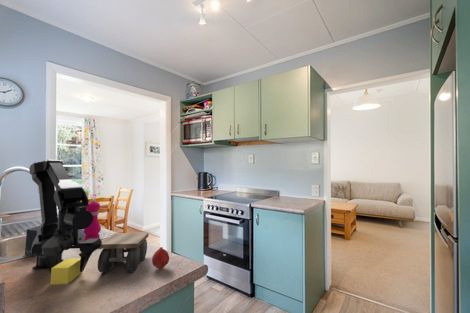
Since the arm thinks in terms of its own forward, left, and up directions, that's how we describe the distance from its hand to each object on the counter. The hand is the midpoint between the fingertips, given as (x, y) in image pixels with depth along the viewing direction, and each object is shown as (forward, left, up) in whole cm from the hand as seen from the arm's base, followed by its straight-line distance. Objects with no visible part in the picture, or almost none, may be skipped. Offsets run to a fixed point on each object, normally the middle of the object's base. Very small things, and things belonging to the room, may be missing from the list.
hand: (67, 272), depth 71 cm
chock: (0, 0, -2) cm, 2 cm away
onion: (+29, +4, -2) cm, 29 cm away
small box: (-25, +24, -2) cm, 35 cm away
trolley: (+15, +8, -2) cm, 17 cm away
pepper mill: (-13, +38, -2) cm, 40 cm away
